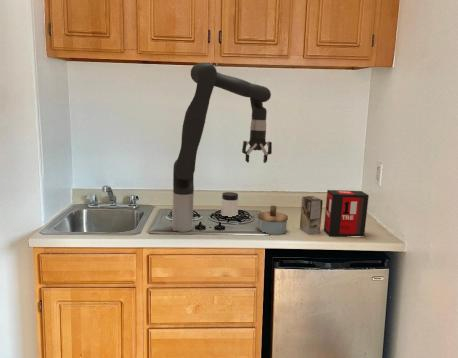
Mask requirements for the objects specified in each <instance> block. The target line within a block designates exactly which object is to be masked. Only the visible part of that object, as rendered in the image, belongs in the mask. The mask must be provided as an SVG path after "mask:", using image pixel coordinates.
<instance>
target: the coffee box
mask: <svg viewBox="0 0 458 358" xmlns="http://www.w3.org/2000/svg"><path fill="white" fill-rule="evenodd" d="M323 203H324V202H323V199H320V198H319V197H316V196H313V195H308V196H307V195H306V196H301V206H300V207H301V209H300V218H299V219H300V220H299V221H300V222H299V229H300V230H301V231H303V232H304V233H306V234H308V235H314V234H317V235H318V234H320V233H321V227H322V225H321V223H322V214H323V213H322V212H323Z"/></svg>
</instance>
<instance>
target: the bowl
mask: <svg viewBox="0 0 458 358" xmlns="http://www.w3.org/2000/svg"><path fill="white" fill-rule="evenodd" d="M287 222H288V220H287V221H285V222H267V221H263V220H260V219H259V218H258V230H259V229H260V230H261V231H264V232H266V233H265V234H267V233H268V234H267V235H283V234H285V233H286V232H287V224H288V223H287ZM260 230H259V231H260ZM261 231H260V232H261Z"/></svg>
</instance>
